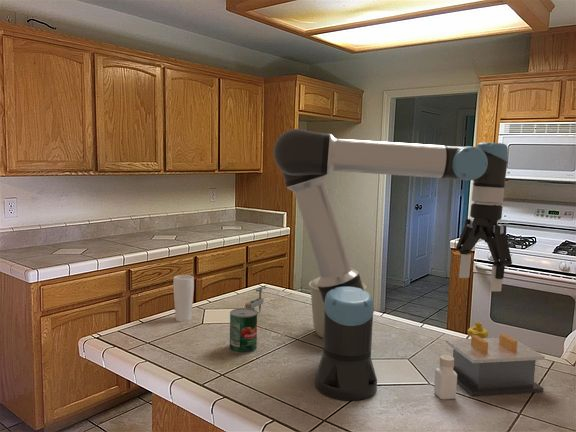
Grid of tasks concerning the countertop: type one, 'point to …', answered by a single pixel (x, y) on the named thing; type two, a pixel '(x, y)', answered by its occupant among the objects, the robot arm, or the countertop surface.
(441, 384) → the pepper shaker
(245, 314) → the canned tomato
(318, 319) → the canister
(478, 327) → the pressure relief valve
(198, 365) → the countertop surface
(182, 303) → the drinking glass
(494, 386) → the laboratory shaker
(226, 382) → the countertop surface
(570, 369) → the countertop surface
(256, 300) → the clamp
